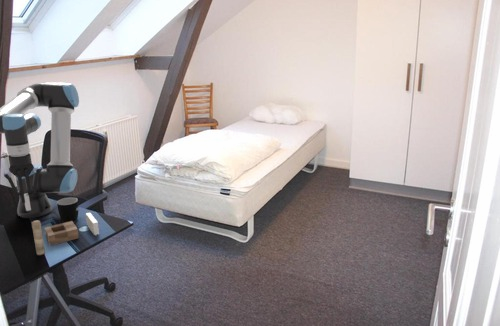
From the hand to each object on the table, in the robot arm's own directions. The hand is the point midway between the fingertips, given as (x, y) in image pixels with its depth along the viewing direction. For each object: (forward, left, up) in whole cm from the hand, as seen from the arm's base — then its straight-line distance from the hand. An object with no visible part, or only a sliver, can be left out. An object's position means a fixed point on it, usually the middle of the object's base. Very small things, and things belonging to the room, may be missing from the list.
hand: (28, 209), depth 161 cm
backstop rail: (0, +24, -16) cm, 29 cm away
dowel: (+9, +1, -16) cm, 19 cm away
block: (0, +11, -16) cm, 20 cm away
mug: (-17, +18, -17) cm, 30 cm away
